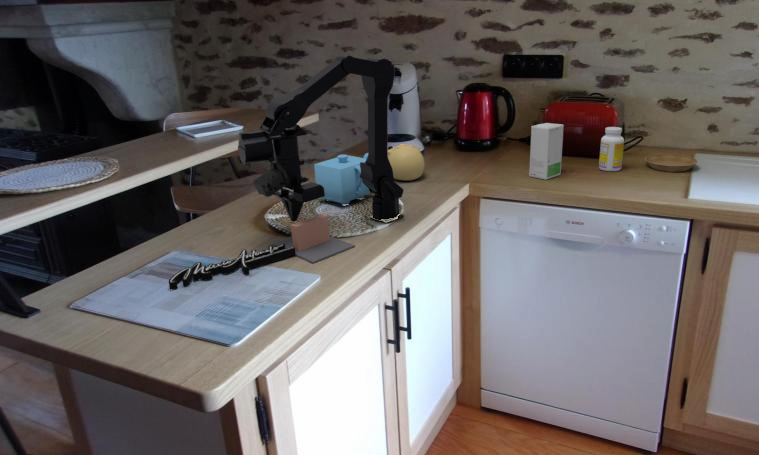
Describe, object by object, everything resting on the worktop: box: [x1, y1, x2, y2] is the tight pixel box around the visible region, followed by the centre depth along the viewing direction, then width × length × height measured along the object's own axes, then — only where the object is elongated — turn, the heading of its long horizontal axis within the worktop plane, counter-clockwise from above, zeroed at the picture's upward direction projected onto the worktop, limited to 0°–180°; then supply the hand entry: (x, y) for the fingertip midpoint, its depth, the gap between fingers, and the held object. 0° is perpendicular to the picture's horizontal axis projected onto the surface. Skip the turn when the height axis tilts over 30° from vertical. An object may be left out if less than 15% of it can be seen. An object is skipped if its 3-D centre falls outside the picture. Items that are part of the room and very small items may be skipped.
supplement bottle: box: [598, 126, 625, 172], centre depth 179 cm, size 7×7×13 cm
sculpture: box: [387, 143, 425, 181], centre depth 181 cm, size 11×12×11 cm
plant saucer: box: [644, 153, 698, 173], centre depth 180 cm, size 15×15×3 cm
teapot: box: [313, 152, 372, 205], centre depth 165 cm, size 18×16×13 cm
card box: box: [290, 213, 330, 252], centre depth 133 cm, size 9×2×6 cm, turn 134°
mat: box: [270, 235, 356, 264], centre depth 135 cm, size 12×16×1 cm
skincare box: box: [528, 122, 565, 181], centre depth 175 cm, size 8×7×16 cm
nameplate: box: [168, 244, 296, 290], centre depth 124 cm, size 27×2×10 cm
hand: (294, 220), depth 137 cm, fingers closed
